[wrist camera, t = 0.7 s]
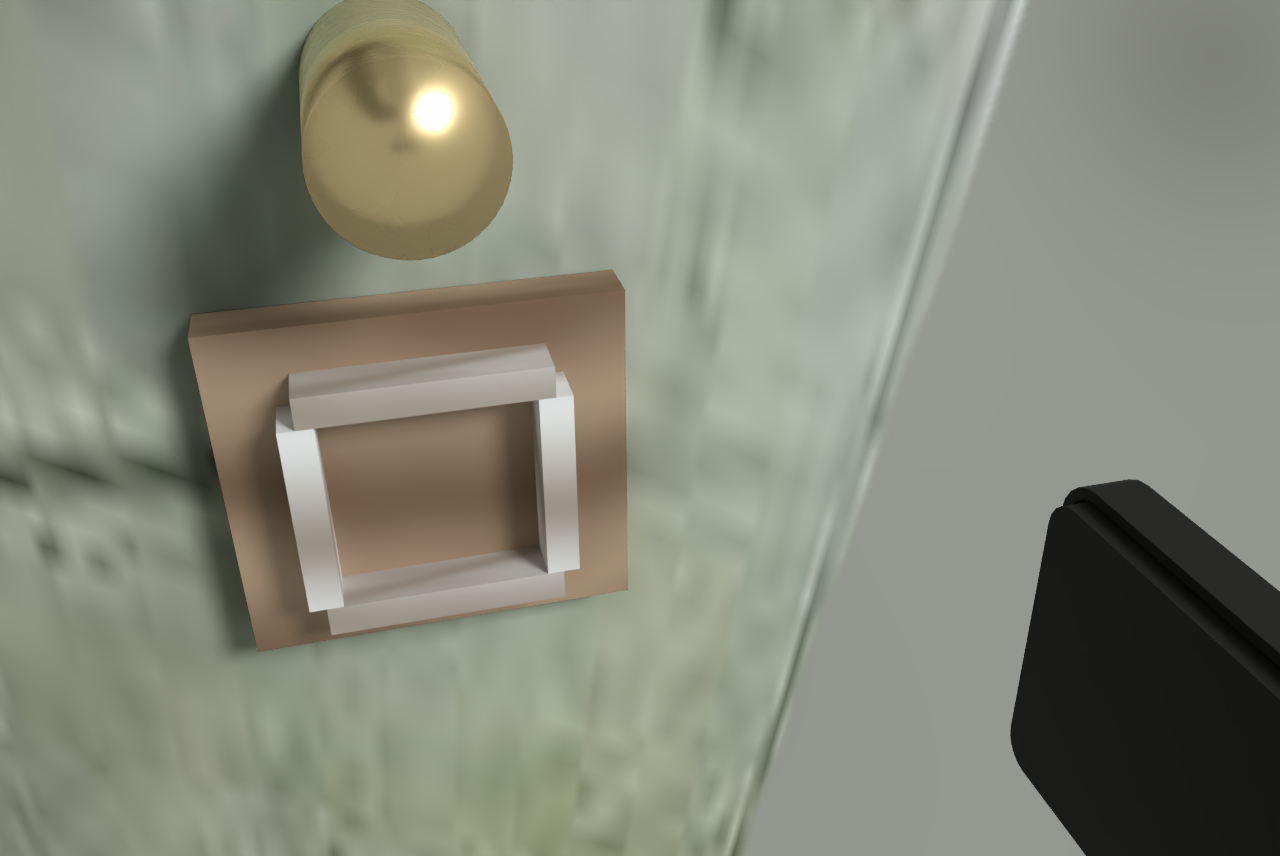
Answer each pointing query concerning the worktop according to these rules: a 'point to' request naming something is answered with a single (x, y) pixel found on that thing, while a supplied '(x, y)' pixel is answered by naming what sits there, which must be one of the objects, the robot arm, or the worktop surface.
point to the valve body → (399, 131)
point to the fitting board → (420, 452)
